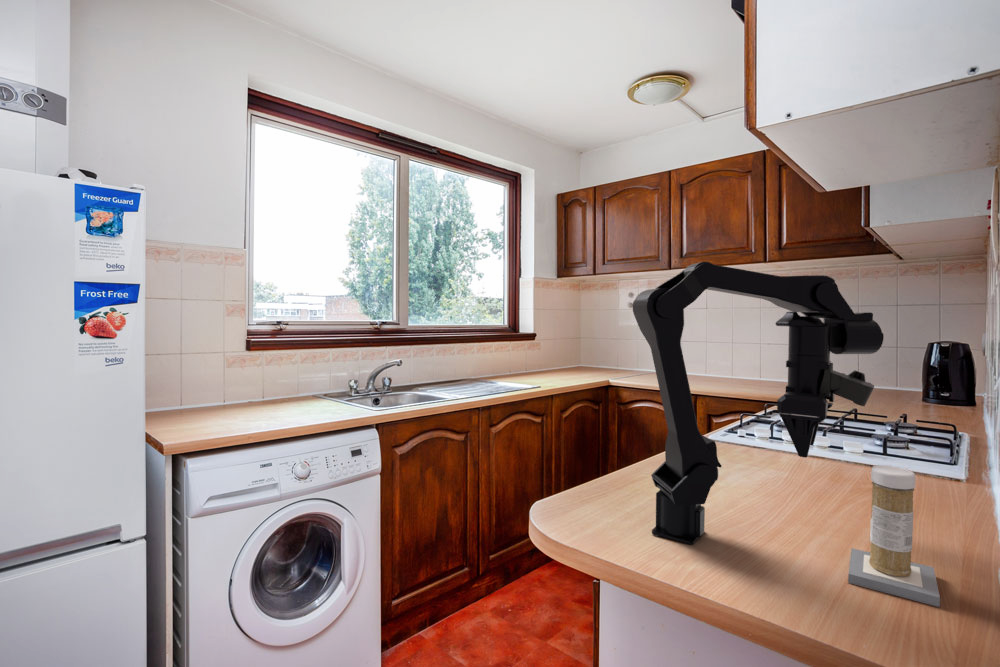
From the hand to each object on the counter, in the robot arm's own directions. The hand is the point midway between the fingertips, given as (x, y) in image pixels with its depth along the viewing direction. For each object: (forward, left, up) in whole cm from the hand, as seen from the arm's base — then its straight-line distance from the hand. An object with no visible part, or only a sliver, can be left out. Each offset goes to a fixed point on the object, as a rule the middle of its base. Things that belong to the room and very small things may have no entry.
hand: (806, 450), depth 81 cm
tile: (+11, -11, -13) cm, 20 cm away
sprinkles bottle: (+11, -11, -12) cm, 20 cm away
